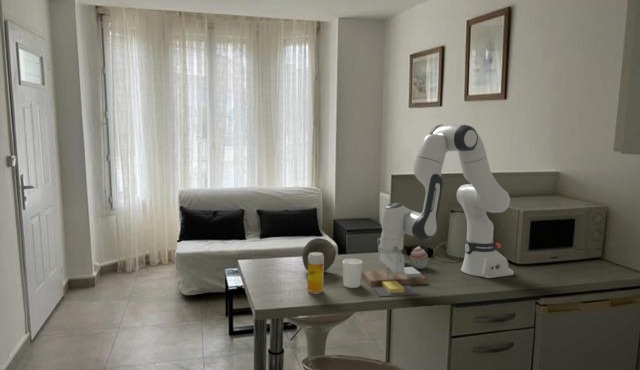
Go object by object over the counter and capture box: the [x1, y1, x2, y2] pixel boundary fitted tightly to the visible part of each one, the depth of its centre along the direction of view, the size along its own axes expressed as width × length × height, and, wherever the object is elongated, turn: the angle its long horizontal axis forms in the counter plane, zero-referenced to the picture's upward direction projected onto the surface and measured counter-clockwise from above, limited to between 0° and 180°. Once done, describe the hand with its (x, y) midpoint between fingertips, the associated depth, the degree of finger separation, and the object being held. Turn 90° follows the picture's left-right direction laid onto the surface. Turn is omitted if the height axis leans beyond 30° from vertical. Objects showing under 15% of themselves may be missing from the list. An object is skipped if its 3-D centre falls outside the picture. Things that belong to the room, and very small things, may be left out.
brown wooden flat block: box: [361, 270, 428, 288], centre depth 199 cm, size 24×12×2 cm, turn 102°
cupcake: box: [408, 245, 430, 270], centre depth 217 cm, size 9×9×10 cm
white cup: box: [342, 258, 363, 289], centre depth 191 cm, size 8×8×10 cm
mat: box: [370, 284, 421, 298], centre depth 186 cm, size 16×11×1 cm
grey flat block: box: [402, 266, 422, 278], centre depth 200 cm, size 6×9×2 cm, turn 12°
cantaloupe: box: [301, 237, 337, 272], centre depth 206 cm, size 14×14×15 cm
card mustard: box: [382, 281, 405, 293], centre depth 187 cm, size 6×9×2 cm, turn 12°
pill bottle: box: [307, 252, 325, 295], centre depth 183 cm, size 6×6×15 cm
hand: (390, 277), depth 191 cm, fingers closed
